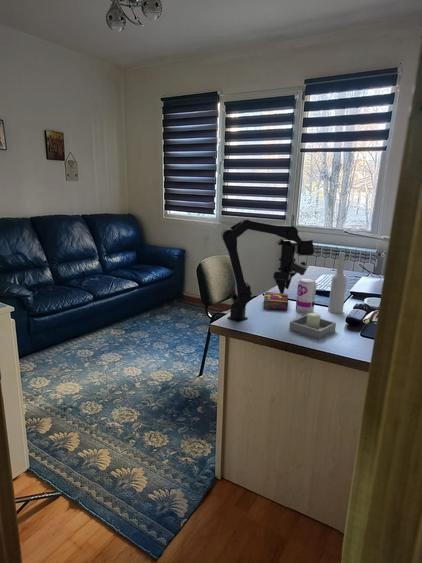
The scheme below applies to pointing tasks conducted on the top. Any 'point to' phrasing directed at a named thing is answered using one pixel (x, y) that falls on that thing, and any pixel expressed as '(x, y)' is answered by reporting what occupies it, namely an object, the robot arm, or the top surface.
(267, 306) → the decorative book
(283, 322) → the top surface
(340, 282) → the bottle
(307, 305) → the supplement can
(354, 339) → the top surface
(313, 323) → the cream yellow cylinder
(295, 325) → the bin
